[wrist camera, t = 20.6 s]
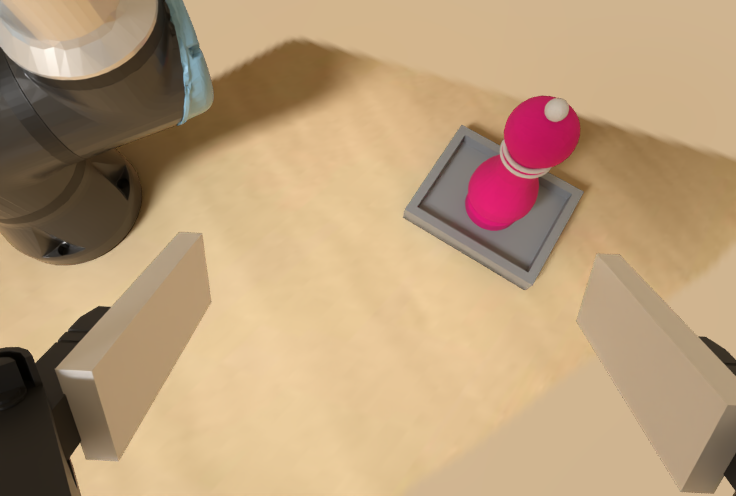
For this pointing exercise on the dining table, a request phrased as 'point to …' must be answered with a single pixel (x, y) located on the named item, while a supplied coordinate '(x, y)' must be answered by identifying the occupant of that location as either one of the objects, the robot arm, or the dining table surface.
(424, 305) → the dining table surface
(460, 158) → the tray
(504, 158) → the pepper mill
